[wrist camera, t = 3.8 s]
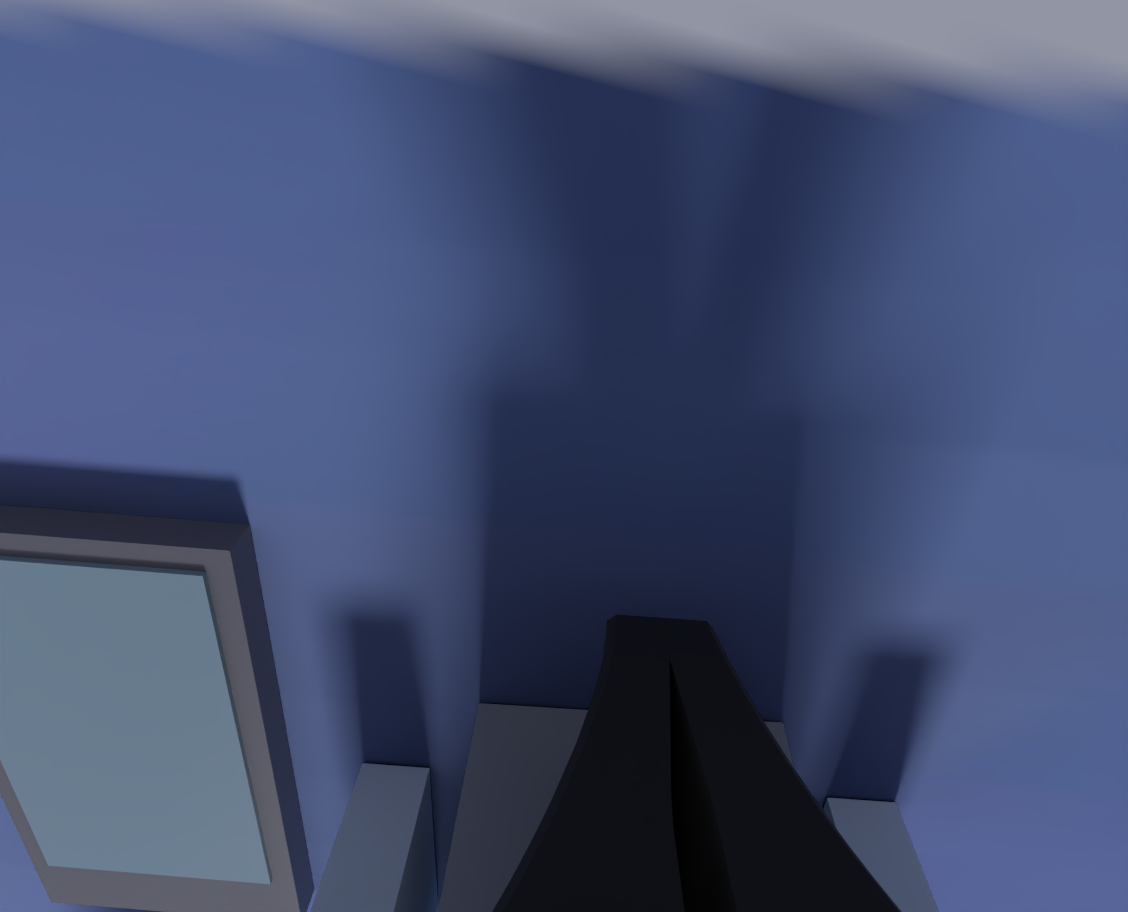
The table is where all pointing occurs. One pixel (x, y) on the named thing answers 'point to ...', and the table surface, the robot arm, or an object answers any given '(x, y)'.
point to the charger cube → (511, 796)
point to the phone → (145, 715)
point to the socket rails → (407, 855)
